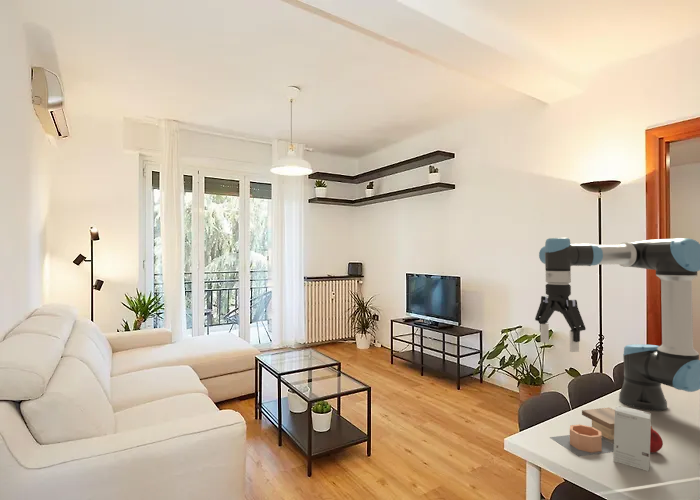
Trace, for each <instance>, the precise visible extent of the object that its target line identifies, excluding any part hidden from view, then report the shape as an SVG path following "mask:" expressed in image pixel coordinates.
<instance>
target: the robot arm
mask: <svg viewBox="0 0 700 500" xmlns="http://www.w3.org/2000/svg"><path fill="white" fill-rule="evenodd" d="M538 259H539V260H540V261H541V263H542V264H544V266H545V282H546V283H545V295H541V297H540V302H539V306H538V309H537V312H536V314H535V317H534V321H537V322H538V324H539V333H540V343H541V344H543V343H550V337H549V335H550V333H549V332H550V330H549V327H550V326H549V319H550V318H551V317H552V315H553V314H554V312H559V313H560V314H561V315H562V316H563V317H564V319H565V321H566V323H567V325H568V326H569V328H570V330H569V352H571V353H577V352H580V342H581V332H582V331H586V329H587V328H586V325H585V322H584V321H583V320H584V319H583V318H582V316H581V315H582V314H581V312H580V310H579V306H578V301H577V299H569V297H570V296H571V295H572V286H571V284H570V283H571V282H572V276H571V275H572V274H571V270H572V268H571V267H572V266H575V267H579V266H581V267H591V266H592V267H593V266H598V265H599V266H600V265H619V266H620V267H623V268H638V269H643V270H644V269H645V270H651V271H652V270H653V271H654V270H655V276H656V277H658V278H659V279H660V291H661V293H660V297H661V301H660V302H661V344H660V345H655V344H645V343H644V344H643V343H637V344H636V343H635V344H634V343H632V344H626V345H625V346H624V347H623V376H624V377H623V382H622V383H623V384H621V385H622V387H621V389H620V391H619V394H618V396H619V397H618V398H619V399H618V400H619V401H620V402H621V403H623V404H625V405H627V406H630V407H632V408H636V409H640V410H641V409H642V410H646V411H647V410H648V411H658V412H659V411H665V410H667V409H668V400H667V399H666V398H665V397H666V396H665V395H664V391H663V388H662V385H664V386H665V385H666V386H668V387H672V388H674V389H675V390H678V391H683V392H688V393H695V392H696V391H700V353H699V352H698V351H697V350H696V349H695V347H694V333H693V332H694V327H693V326H694V325H693V323H694V319H693V317H694V316H693V280H695V279H696V278H697V277H698V272H699V271H700V242H699V241H697V240H695V239H694V238H690V237H689V238H688V237H687V238H686V237H685V238H682V237H676V238H659V239H647V240H646V239H645V240H640V241H632V242H626V241H625V242H621V243H619V244H595V243H591V242H590V243H572V242H571V240H570V238H569V237H549V238H547V239H546V240H545V244H544V246H543V247H541V248H540V250H539V252H538Z"/></svg>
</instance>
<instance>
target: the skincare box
mask: <svg viewBox="0 0 700 500" xmlns="http://www.w3.org/2000/svg"><path fill="white" fill-rule="evenodd" d="M614 410H615V421H614V439H613V444H614V452H613V454H612V455H613V460H612V461H613V462H614V463H620V464H623V465H626V466H630V467H634V468H636V469H640V470H644V471H646V472H649V471H650V463H651V462H650V461H651V460H650V459H651V452H650V434H651V426H652V423H651V422H652V413H650V412H647V411H642V410H641V409H640V410H639V409H637V408H636V409H635V408H633V407H632V408H631V407H626V406H622V405H616V406H615V409H614Z"/></svg>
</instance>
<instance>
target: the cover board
mask: <svg viewBox="0 0 700 500" xmlns="http://www.w3.org/2000/svg"><path fill="white" fill-rule="evenodd" d="M581 416H583V417H586V418H587V419H589V420H591V421H592V420H593V421H595V422H597V423H599V424H601V425H603V426H605V427H607V428H609V429H614V421H615V409H613V408H611V407H601V408H592V409H591V408H590V409H583V410H581Z"/></svg>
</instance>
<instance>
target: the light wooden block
mask: <svg viewBox="0 0 700 500" xmlns="http://www.w3.org/2000/svg"><path fill="white" fill-rule="evenodd" d="M591 427H593V428H595V429H597V430H599V431H601V436H602V437H604V438H607V440H608V439H609V441H611V440H613V441H614V429H609V428H607V427H605V426H603V425H601V424H599V423H597V422H595V421H593V420H591Z"/></svg>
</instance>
